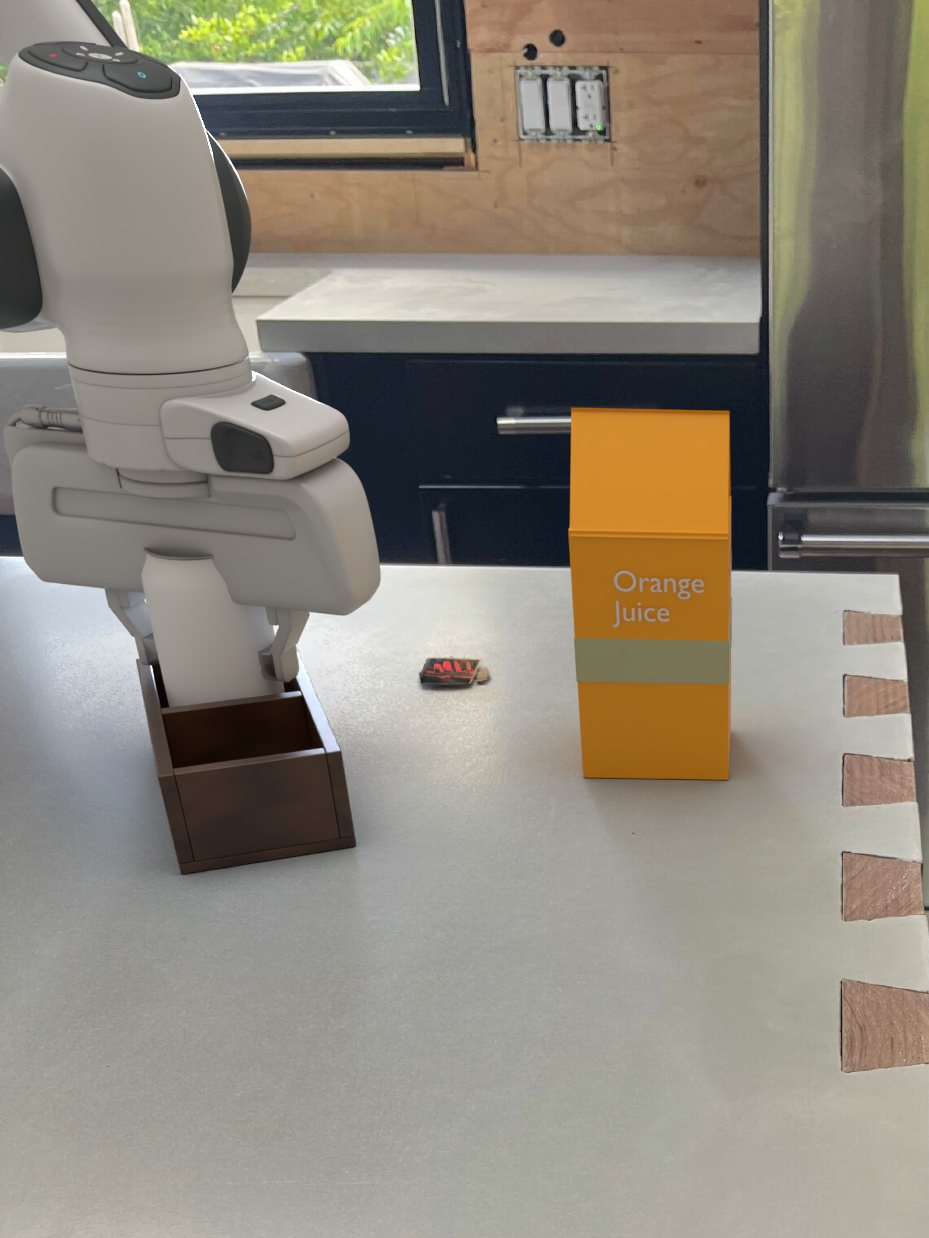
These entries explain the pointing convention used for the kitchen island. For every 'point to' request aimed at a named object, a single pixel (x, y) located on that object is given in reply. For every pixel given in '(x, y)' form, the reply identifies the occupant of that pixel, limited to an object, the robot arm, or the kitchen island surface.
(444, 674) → the matchbox
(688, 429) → the orange juice
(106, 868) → the kitchen island surface
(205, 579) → the can
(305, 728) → the holder
